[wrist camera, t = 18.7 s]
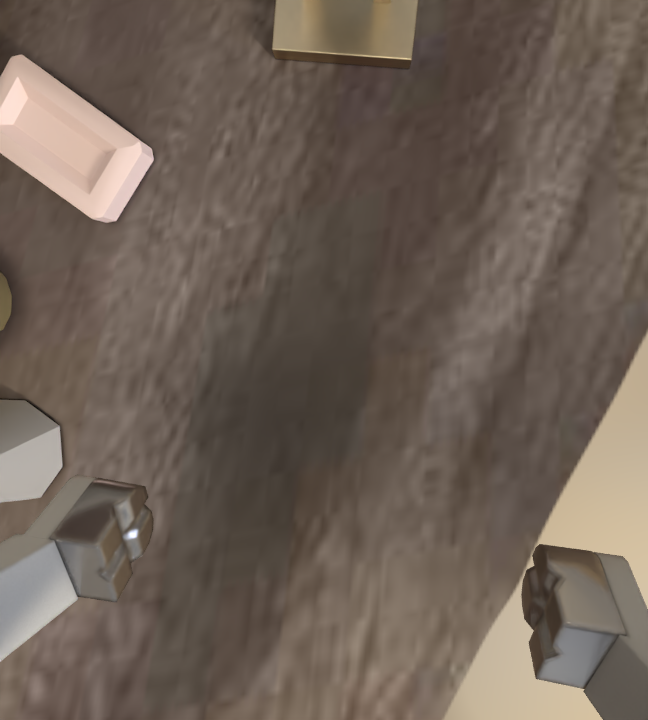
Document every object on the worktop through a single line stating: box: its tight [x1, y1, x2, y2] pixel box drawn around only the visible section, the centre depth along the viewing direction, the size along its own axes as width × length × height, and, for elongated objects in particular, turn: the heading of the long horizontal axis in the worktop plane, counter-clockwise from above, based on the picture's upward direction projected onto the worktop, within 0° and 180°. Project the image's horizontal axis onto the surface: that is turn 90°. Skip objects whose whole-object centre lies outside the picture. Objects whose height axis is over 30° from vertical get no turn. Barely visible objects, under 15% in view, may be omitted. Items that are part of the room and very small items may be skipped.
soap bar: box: [0, 55, 154, 223], centre depth 30 cm, size 5×9×2 cm, turn 54°
